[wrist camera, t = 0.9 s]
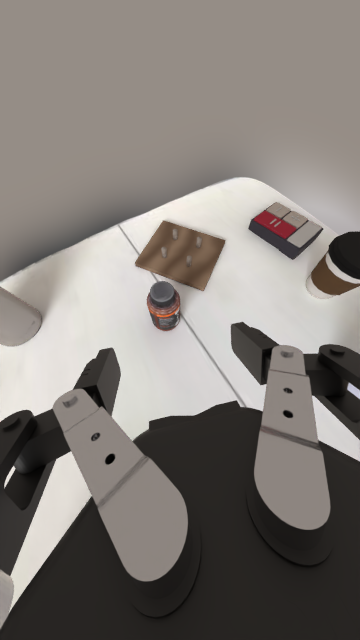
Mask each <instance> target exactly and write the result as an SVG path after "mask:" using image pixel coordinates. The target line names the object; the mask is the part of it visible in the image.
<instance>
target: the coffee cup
mask: <svg viewBox="0 0 360 640" xmlns="http://www.w3.org/2000/svg"><path fill="white" fill-rule="evenodd" d="M359 286H360V232H348V233H345V234H343V235H340V236H338V237H336V238H335V239H334V240H333V241H332V242H331V244H330V245H329V250H328V251H327V253H326V254H325V255H324V257H323V258H322V259H321V261H320V262H319V263H318V265H317V266H316V267H315V268H314V270H313V271H312V272H311V275H310V276H309V278H308V279H307V281H306V288H307V291H308V292H309V293H310V294H311V295H312V296H314V297H316V298H319V299H329V298H331V297H333V296H336V295H340V294H342V293H345V292H347V291H349V290H352V289H354V288H356V287H359Z"/></svg>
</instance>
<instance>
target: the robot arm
mask: <svg viewBox="0 0 360 640" xmlns="http://www.w3.org/2000/svg"><path fill="white" fill-rule="evenodd" d="M40 325H41V315H40V313H39V311H38V310H37V309H35V308H34V307H32V306H31V305H29V304H27V303H26V302H24V301H23V300H21V299H20V298H18V297H16V296H15V295H13V294H11V293H10V292H8V291H7V290H5V289H3V288H2V287H0V344H1V345H5V346H17V345H20V344H23V343H25V342H27V341H28V340H30V339H31V338H32V337H33V336H34V335H35V334H36V333H37V331H38V330H39V327H40ZM231 345H232V349H233V352H234V353H235V354H236V356H237V357H238V358H239V359H240V361H241V362H242V363H243V364H244V365H245V367H246V368H247V369H248V370H249V372H250V373H251V374H252V375H253V376H254V378H255V379H256V380H257V381H258V383H259V384H260V385H264V384H267V386H266V394H265V401H264V408H263V412H262V411H260V410H256V409H252V408H246V407H240V405H239V404H238V402H237V400H236V401H232V402H228V403H223V404H219V405H215V406H213V407H211V408H210V409H208V410H206V411H204V412H202V413H200V414H198V415H195V416H169V417H165V418H160V419H156V420H152V421H149V430H147V431H145V432H143V433H142V434H140V435H139V436H138V437H136V438H135V439H134V440H133V441H132V440H131V439H130V438H129V437H128V436H127V435H126V433H125V432H124V431H123V430H122V429H121V428H120V426H119V425H118V424H117V423H116V422H115V421H114V419H113V418H112V417H111V416H112V411H113V407H114V403H115V398H116V394H117V390H118V385H119V381H120V376H121V372H120V367H119V364H118V361H117V358H116V354H115V351H114V349H113V348H107V349H102V350H100V351H99V353H98V355H97V357H96V359H92V360H91V361H90V362H89V363H88V364H87V365H86V367H85V368H84V371H83V372H82V374H81V376H80V377H79V379H78V381H77V383H76V385H75V386H74V388H73V390H71V391H69V392H67V393H65V394H63V395H62V396H61V397H59V398H58V399H57V400H56V402H55V403H54V405H53V409H51V410H48V411H46V412H44V413H41V414H39V415H37V416H35V417H34V415H33V414H32V412H31V411H29V410H23V411H19V412H16V413H14V414H12V415H10V416H8V417H7V418H5V419H4V420H2V421H1V422H0V640H360V462H359V461H358V460H356V459H354V458H352V457H350V456H348V455H346V454H344V453H342V452H340V451H338V450H336V449H334V448H333V447H331V446H329V445H327V444H325V443H323V442H321V441H319V440H318V437H317V430H316V422H315V415H314V408H313V401H312V396H315V397H316V398H317V399H318V400H319V401H320V402H321V403H322V404H323V405H324V406H325V407H326V408H327V409H328V410H329V411H330V412H331V413H332V414H333V415H334V416H336V417H337V418H338V419H339V420H340V421H341V422H342V423H343V424H344V425H345V426H346V427H347V428H348V429H349V430H350V431H351V432H352V433H353V434H354V435H355V436H356V437H357V438H358V439H359V440H360V399H359V398H358V397H356V396H355V395H354V394H352V393H351V392H350V391H349V390H347V388H348V384H349V383H350V384H352V385H353V386H354V387H356V388H357V389H359V390H360V354H358V353H356V352H354V351H352V350H351V349H349V348H346V347H343V346H340V345H333V344H327V345H322V346H320V348H319V352H318V354H303V353H302V351H301V350H299V349H298V348H295V347H292V346H287V345H279V344H277V343H276V342H275V341H273V340H272V339H271V338H269V337H268V336H267V335H265V334H264V333H262V332H261V331H260V330H258V329H255V328H252V327H251V328H250V327H249V326H247V325H246V324H245V323H244V322H240V323H235V324H232V325H231ZM70 451H72V454H73V456H74V458H75V460H76V462H77V464H78V466H79V469H80V471H81V473H82V475H83V477H84V479H85V482H86V484H87V486H88V488H89V490H90V492H91V494H92V496H91V498H90V499H89V501H88V502H87V503H86V505H85V506H84V508H83V509H82V510H81V512H80V513H79V515H78V516H77V517H76V519H75V520H74V522H73V523H72V524H71V526H70V527H69V529H68V530H67V531H66V533H65V534H64V536H63V537H62V538H61V540H60V541H59V543H58V544H57V545H56V547H55V548H54V550H53V551H52V552H51V554H50V555H49V557H48V558H47V559H46V561H45V562H44V564H43V565H42V566H41V568H40V569H39V571H38V572H37V573H36V575H35V576H34V578H33V579H32V580H31V582H30V583H29V585H28V586H27V587H26V589H25V590H24V592H23V593H22V595H21V596H20V597H19V599H18V600H17V602H16V603H15V605H14V606H13V608H12V609H11V611H10V613H9V610H10V607H11V603H12V599H13V594H14V584H13V580H12V578H11V577H10V575H11V573H12V570H13V568H14V565H15V563H16V560H17V558H18V555H19V552H20V550H21V547H22V545H23V542H24V540H25V537H26V535H27V532H28V530H29V527H30V524H31V522H32V519H33V517H34V514H35V512H36V509H37V507H38V504H39V502H40V499H41V497H42V494H43V491H44V489H45V486H46V484H47V481H48V479H49V476H50V474H51V471H52V469H53V466H54V463H55V461H56V459H57V458H59V457H61V456H63V455H65V454H67V453H68V452H70ZM13 466H14V467H15V468H16V469H15V471H14V473H13V475H12V476H11V478H10V480H9V482H8V483H7V485H6V487H5V489H4V484H5V480H6V477H7V475H8V474H9V472H10V470H11V468H12V467H13Z"/></svg>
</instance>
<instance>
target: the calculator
mask: <svg viewBox="0 0 360 640" xmlns="http://www.w3.org/2000/svg"><path fill="white" fill-rule="evenodd" d="M249 230H251V231H252V232H254V233H255V234H256V235H258V236H259V237H261V238H262V239H264V240H265V241H267V242H268V243H270V244H271V245H273V246H275V247H276V248H278V249H279V251H281V252H282V253H283V254H285V255H286V256H288V257H289V258H291V259H292V260H293V259H295V258H296V257H297V256H298V255H299V254H300V253H301V252H302V251H304V250H305V249H306V248H307V247H308V246H309V245H310V244H311V243H312V242H313V241H314V240H315V239H316V238H317V237H318V236H319V234H320V233H321V232H322V230H323V228H322V227H321V226H319V225H317V224H315V223H313V222H311V221H309V220H308V219H307V218H306V217H304V216H302V215H300V214H298V213H296V212H294V211H290V209H289V208H287V207H285V206H283V205H281V204H279V203H277V202H276V203H274V204H273V205H271V206H270V207H268V208H267V209H266V210H264V211H263V212H262V213H260V214H259V215H257V216H256V217H255V218H253V219H252V220H251V223H250V225H249Z"/></svg>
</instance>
